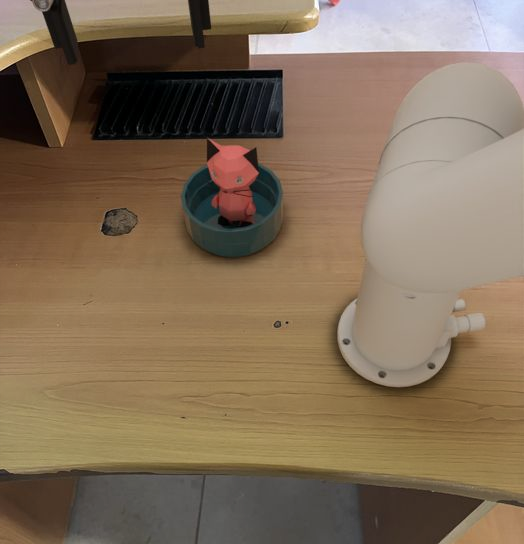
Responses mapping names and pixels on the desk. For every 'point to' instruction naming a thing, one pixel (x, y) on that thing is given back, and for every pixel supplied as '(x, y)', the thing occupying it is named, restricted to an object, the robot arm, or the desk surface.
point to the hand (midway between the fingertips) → (136, 46)
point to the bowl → (232, 237)
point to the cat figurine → (233, 181)
